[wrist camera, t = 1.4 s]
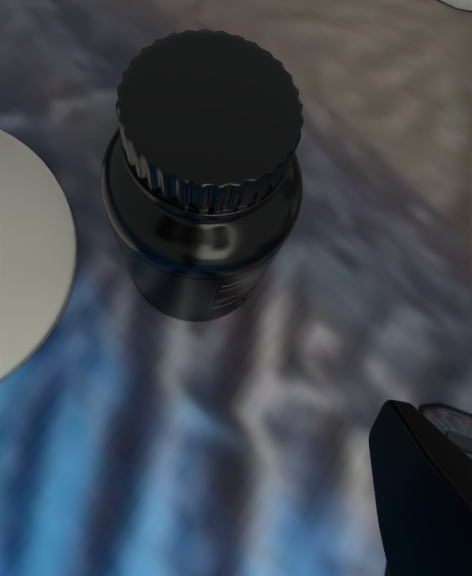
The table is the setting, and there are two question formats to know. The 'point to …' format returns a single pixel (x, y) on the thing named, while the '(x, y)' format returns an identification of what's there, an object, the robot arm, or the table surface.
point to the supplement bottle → (203, 170)
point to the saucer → (32, 253)
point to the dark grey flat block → (450, 427)
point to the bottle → (459, 4)
